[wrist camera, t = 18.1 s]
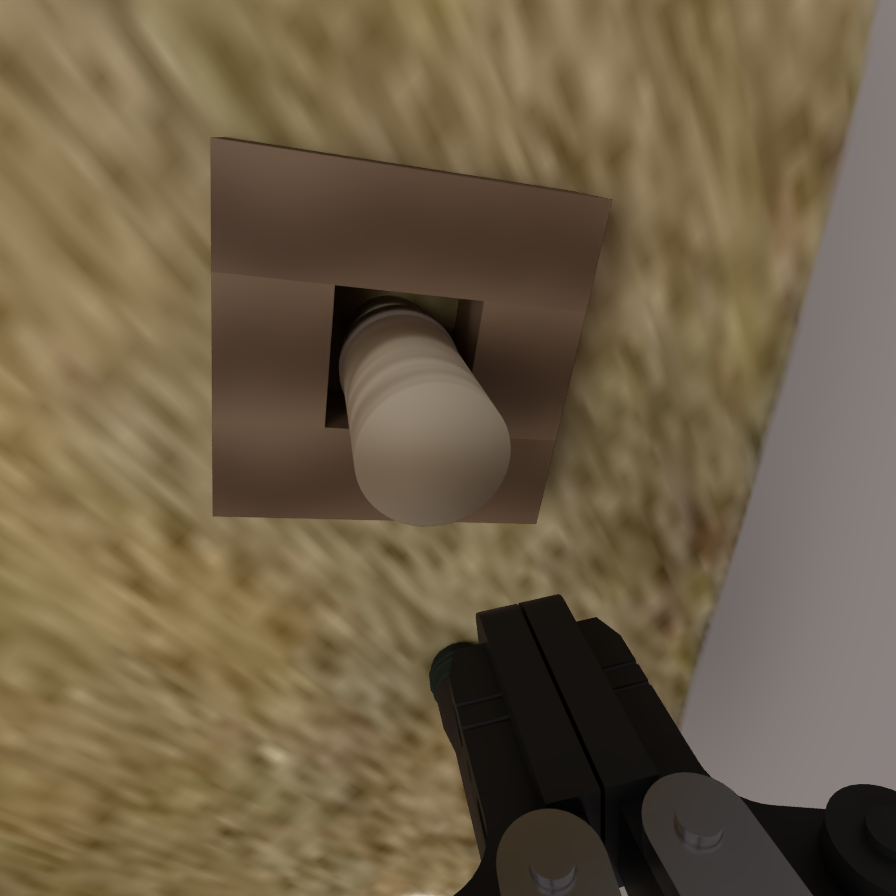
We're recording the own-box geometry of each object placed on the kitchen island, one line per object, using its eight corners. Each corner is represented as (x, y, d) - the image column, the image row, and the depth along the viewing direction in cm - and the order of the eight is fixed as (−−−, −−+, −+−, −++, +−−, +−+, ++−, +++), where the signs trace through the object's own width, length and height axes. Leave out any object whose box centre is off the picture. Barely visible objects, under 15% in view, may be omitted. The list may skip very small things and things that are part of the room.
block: (225, 137, 24) (210, 137, 20) (573, 191, 27) (612, 199, 24) (224, 470, 30) (212, 516, 26) (511, 482, 33) (536, 523, 29)
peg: (339, 280, 27) (358, 373, 16) (446, 292, 28) (528, 387, 17) (331, 383, 29) (343, 527, 18) (431, 391, 30) (498, 531, 19)
